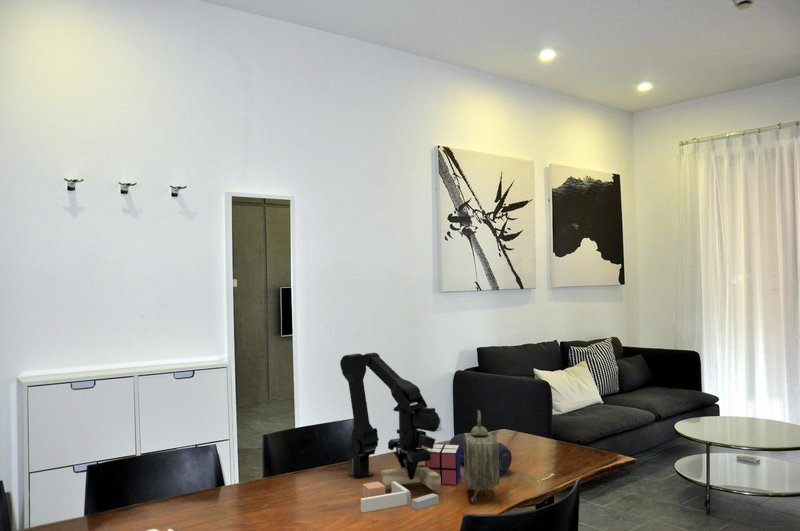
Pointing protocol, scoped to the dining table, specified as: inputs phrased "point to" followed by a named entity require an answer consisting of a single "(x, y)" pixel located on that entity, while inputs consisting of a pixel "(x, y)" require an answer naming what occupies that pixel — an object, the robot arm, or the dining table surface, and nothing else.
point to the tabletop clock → (481, 459)
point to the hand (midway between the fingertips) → (409, 477)
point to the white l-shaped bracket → (387, 499)
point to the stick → (425, 501)
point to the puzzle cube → (445, 463)
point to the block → (373, 489)
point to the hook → (421, 475)
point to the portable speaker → (504, 453)
